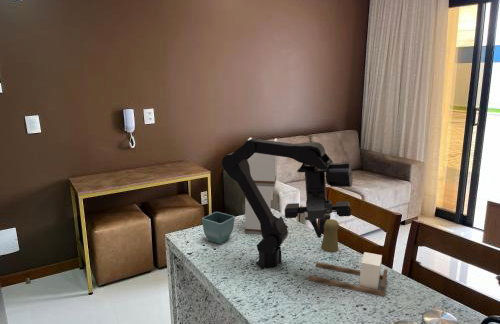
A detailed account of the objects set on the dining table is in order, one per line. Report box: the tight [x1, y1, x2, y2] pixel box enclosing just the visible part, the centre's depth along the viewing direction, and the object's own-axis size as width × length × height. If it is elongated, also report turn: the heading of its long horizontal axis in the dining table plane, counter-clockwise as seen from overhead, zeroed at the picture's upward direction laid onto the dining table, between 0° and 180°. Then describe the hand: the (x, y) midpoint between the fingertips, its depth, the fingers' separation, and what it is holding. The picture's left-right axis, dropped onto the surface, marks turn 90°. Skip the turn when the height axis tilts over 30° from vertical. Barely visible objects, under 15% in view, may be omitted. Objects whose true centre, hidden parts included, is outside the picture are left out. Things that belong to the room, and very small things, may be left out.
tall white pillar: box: [244, 137, 278, 236], centre depth 149 cm, size 11×11×35 cm
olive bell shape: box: [320, 218, 340, 253], centre depth 134 cm, size 6×6×11 cm
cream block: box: [358, 251, 383, 290], centre depth 112 cm, size 5×7×8 cm
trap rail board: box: [308, 261, 388, 297], centre depth 115 cm, size 21×16×4 cm
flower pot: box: [201, 211, 236, 245], centre depth 142 cm, size 9×9×9 cm
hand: (319, 237), depth 116 cm, fingers closed
